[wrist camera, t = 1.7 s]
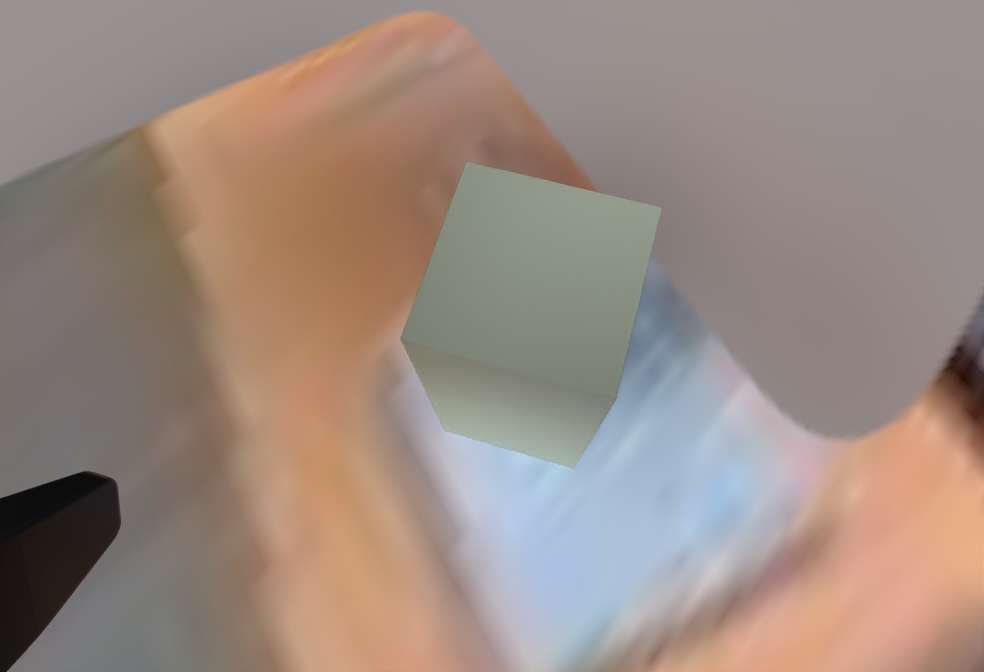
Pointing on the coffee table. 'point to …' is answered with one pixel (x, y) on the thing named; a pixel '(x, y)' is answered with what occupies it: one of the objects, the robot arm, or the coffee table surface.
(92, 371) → the coffee table surface
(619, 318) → the sage block
